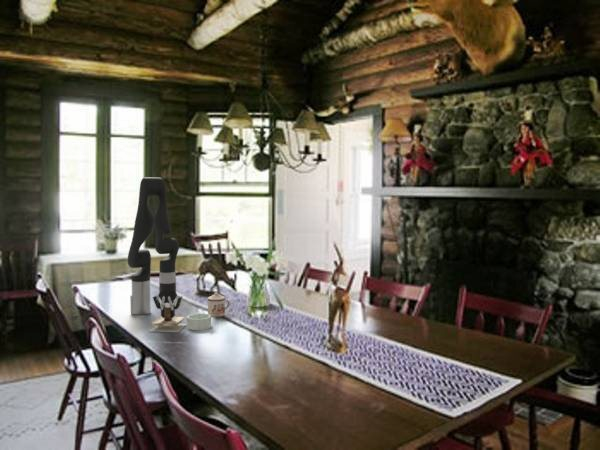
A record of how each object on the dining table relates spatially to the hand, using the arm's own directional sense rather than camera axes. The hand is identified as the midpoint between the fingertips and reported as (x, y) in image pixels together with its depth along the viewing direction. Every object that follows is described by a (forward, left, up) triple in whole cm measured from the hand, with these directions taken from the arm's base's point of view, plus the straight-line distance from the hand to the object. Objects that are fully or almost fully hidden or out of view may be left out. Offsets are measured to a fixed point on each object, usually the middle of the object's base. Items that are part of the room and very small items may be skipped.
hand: (168, 317), depth 242 cm
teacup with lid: (+18, +27, -5) cm, 33 cm away
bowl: (+14, +2, -5) cm, 15 cm away
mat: (0, 0, -5) cm, 5 cm away
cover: (0, 0, -2) cm, 2 cm away
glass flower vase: (+35, +51, -5) cm, 62 cm away
